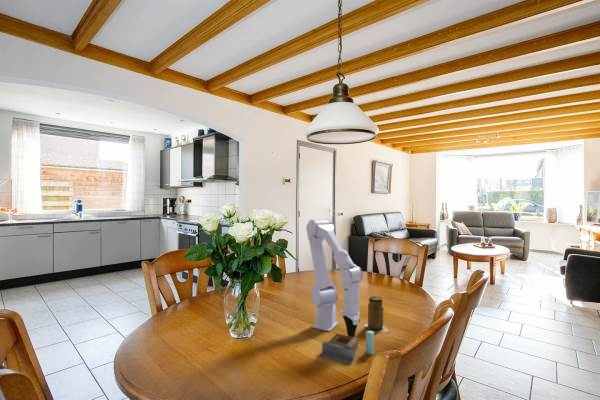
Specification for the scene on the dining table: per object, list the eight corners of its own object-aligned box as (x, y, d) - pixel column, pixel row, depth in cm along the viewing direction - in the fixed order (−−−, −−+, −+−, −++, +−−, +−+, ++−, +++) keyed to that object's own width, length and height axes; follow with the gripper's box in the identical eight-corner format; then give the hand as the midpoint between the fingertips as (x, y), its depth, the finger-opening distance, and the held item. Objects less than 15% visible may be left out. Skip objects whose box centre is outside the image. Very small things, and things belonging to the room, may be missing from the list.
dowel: (367, 350, 106) (367, 330, 106) (374, 352, 105) (374, 331, 105) (364, 353, 104) (365, 332, 104) (372, 355, 103) (372, 334, 103)
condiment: (379, 323, 130) (379, 295, 130) (389, 331, 121) (389, 301, 121) (363, 325, 128) (363, 296, 128) (373, 333, 120) (373, 303, 120)
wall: (323, 351, 105) (324, 341, 105) (354, 359, 100) (354, 349, 100) (319, 355, 102) (320, 345, 102) (351, 364, 97) (351, 353, 97)
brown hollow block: (336, 342, 112) (336, 333, 112) (358, 348, 108) (358, 338, 108) (327, 352, 105) (328, 342, 105) (350, 358, 101) (350, 347, 101)
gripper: (336, 293, 120) (336, 328, 120) (345, 307, 106) (344, 346, 106) (354, 293, 121) (354, 327, 121) (365, 306, 106) (364, 345, 106)
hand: (351, 336), depth 113 cm, fingers closed
